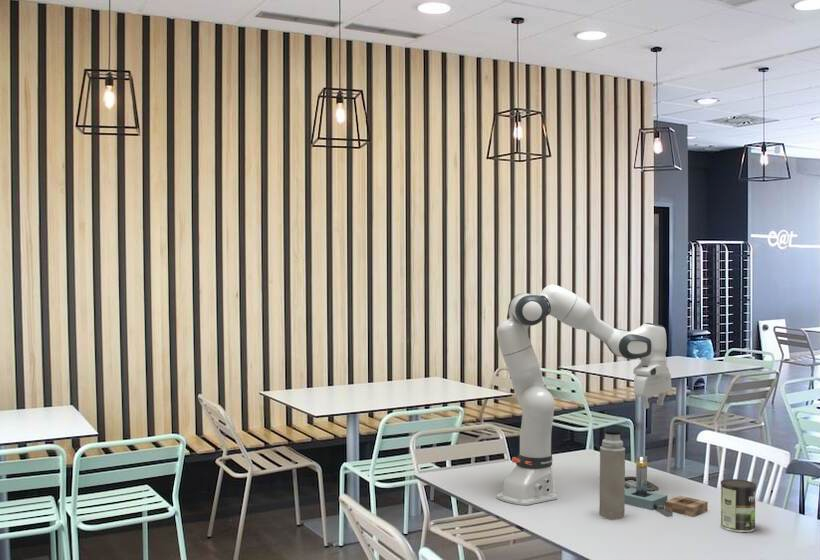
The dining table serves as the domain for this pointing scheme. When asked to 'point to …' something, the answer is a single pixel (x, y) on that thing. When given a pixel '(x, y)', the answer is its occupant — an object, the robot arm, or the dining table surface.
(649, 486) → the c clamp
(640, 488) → the gray gold-collared cylinder
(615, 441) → the thermos bottle
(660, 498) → the teal flat box
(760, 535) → the dining table surface
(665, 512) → the drift key
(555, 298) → the robot arm
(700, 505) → the socket block
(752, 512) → the coffee can
